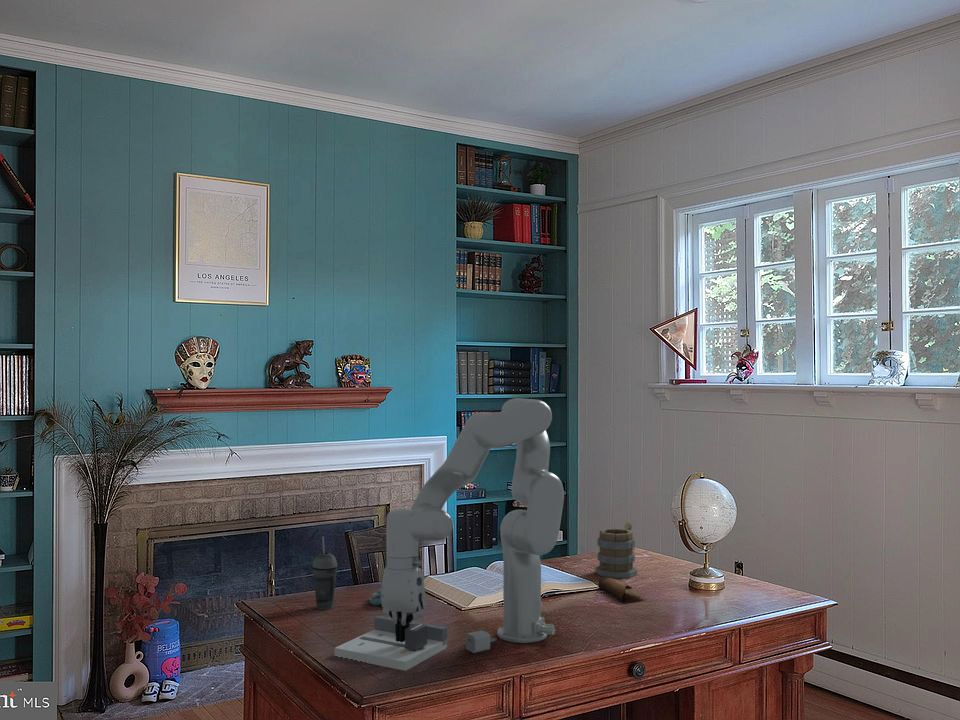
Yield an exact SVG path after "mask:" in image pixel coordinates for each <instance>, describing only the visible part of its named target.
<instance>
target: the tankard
mask: <svg viewBox="0 0 960 720" xmlns="http://www.w3.org/2000/svg"><path fill="white" fill-rule="evenodd" d="M632 529H633V526H632V525H631V524H630V522H626V523H625V524H624V527H622V528H604V529H602V530H600V531H599V537H598V538H597V547H599V551H598V552H597V561H599V565H598V566H596V567H594V570H595V571H594V572H595V573H596V574H597V575H599V576H600V577H602V578H603V577H608V578H613V579H626V578H627V579H628V578H633V577H634V576H637V574H638V569H637V568H636V567H634V566H633V565H634V563H635V561H636V559H635V558H636V556H635V555H636V554H634V553H633V552H634V551H633V549H634V547H635V545H636V541H635V539H634V537H633V535H634V534H633V533H634V532H633V531H631V530H632Z"/></svg>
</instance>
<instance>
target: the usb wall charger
mask: <svg viewBox="0 0 960 720" xmlns="http://www.w3.org/2000/svg"><path fill="white" fill-rule="evenodd" d="M496 641H497V637H493V635H491V633H489V632H487V631H485V630H477V631H473V632H468V633H466V634H465V649H466V650H467V651H469V652H471V653H473V654H477V653H481V652H485V651H489V650H490V649H491V643H493V642H496Z"/></svg>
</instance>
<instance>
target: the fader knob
mask: <svg viewBox="0 0 960 720" xmlns="http://www.w3.org/2000/svg"><path fill="white" fill-rule="evenodd" d="M425 645H427V625H422V624H415V625H413V626H411V627H409V628H407V629H405V648H406V649H411V650H417V649H419V648H421V647H423V646H425Z"/></svg>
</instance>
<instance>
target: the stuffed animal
mask: <svg viewBox="0 0 960 720" xmlns="http://www.w3.org/2000/svg"><path fill="white" fill-rule="evenodd" d="M381 589H382V587H380V588H379V589H378V590H377V592H376V591H375V592H372V593H371V597H369V598H368V602H369V603H370V604H371V605H372V606H376V607H378V606H380V605H382V604H381Z"/></svg>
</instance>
